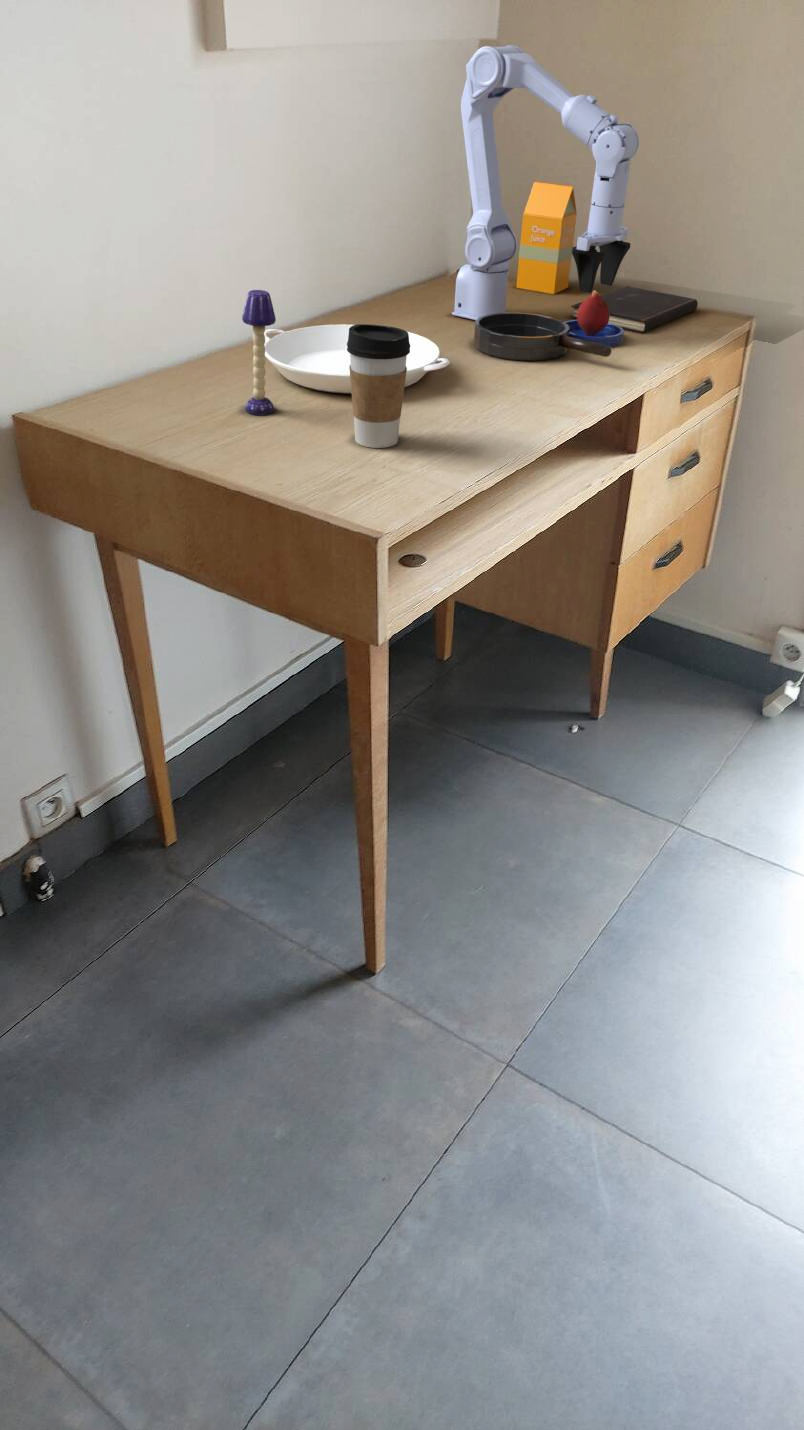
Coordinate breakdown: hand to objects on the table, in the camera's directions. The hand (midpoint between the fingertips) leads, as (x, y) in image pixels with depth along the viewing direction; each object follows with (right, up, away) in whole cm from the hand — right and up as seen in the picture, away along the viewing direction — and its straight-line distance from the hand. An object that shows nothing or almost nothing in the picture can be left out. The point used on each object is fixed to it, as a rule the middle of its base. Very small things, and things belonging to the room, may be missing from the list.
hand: (596, 288), depth 187 cm
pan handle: (-4, -15, -9) cm, 18 cm away
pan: (-43, -21, -17) cm, 51 cm away
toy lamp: (-55, -32, -33) cm, 72 cm away
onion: (0, -7, +5) cm, 9 cm away
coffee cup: (-38, -38, -42) cm, 68 cm away
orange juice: (-5, +15, +36) cm, 39 cm away
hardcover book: (+11, +3, +20) cm, 23 cm away
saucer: (0, -7, +5) cm, 9 cm away
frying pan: (-14, -11, -2) cm, 18 cm away
